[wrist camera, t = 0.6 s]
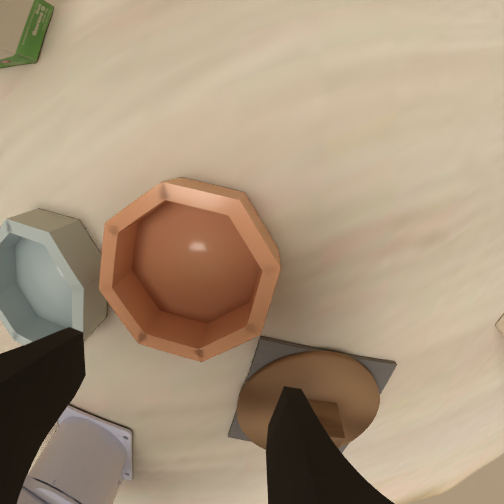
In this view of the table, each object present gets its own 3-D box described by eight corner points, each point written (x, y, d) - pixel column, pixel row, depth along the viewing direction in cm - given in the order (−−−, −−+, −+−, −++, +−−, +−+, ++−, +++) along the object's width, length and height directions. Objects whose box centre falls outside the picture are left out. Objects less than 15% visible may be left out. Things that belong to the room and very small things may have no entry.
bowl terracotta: (251, 340, 20) (248, 373, 17) (120, 304, 20) (97, 329, 17) (290, 204, 18) (296, 215, 15) (139, 168, 18) (112, 171, 14)
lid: (343, 453, 23) (350, 491, 19) (225, 437, 23) (218, 478, 19) (400, 362, 20) (421, 401, 16) (258, 335, 20) (255, 377, 16)
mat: (341, 449, 23) (342, 452, 23) (228, 433, 23) (227, 436, 23) (395, 361, 21) (396, 364, 20) (260, 336, 20) (260, 339, 20)
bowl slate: (105, 346, 21) (85, 373, 18) (16, 309, 21) (-9, 327, 18) (114, 228, 19) (86, 243, 15) (14, 201, 18) (-18, 210, 15)
